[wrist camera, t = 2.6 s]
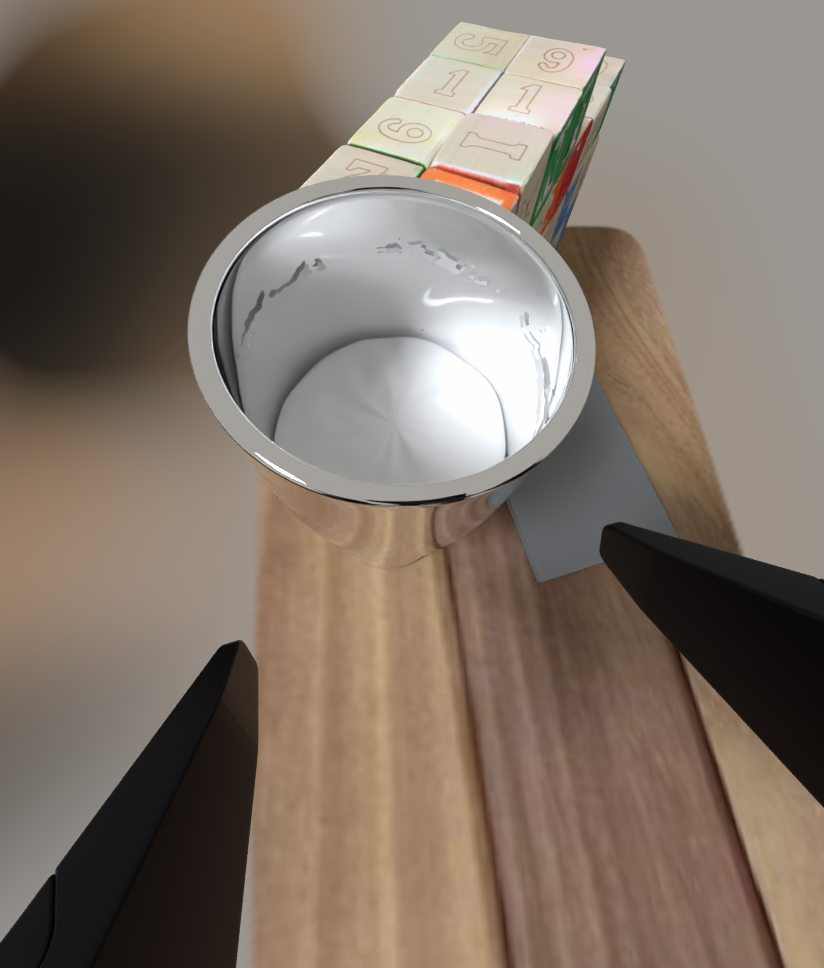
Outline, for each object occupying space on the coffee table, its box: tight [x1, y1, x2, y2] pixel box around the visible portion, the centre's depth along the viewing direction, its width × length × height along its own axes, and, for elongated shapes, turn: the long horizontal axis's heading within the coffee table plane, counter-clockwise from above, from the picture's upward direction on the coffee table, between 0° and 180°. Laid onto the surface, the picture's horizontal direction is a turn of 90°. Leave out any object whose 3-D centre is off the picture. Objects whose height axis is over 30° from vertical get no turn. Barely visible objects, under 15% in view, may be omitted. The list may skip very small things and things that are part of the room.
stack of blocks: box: [299, 22, 625, 249], centre depth 18 cm, size 21×6×12 cm, turn 152°
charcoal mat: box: [506, 373, 679, 583], centre depth 21 cm, size 12×9×1 cm
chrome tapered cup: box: [188, 175, 596, 568], centre depth 13 cm, size 7×7×15 cm
